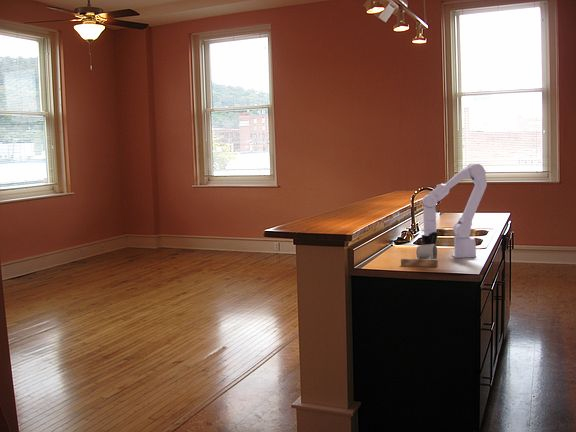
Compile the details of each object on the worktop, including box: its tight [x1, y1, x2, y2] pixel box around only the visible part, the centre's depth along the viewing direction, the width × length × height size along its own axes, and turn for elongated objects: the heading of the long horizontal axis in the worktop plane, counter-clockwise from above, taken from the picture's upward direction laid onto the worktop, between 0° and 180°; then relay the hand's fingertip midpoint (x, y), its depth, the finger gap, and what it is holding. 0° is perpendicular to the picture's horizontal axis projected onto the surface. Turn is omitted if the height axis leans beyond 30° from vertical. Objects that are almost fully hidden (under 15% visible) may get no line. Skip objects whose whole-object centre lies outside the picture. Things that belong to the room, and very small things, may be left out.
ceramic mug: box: [415, 244, 438, 259], centre depth 298 cm, size 11×8×8 cm
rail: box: [400, 257, 439, 268], centre depth 287 cm, size 16×2×3 cm, turn 64°
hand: (430, 249), depth 306 cm, fingers open, 7 cm apart
